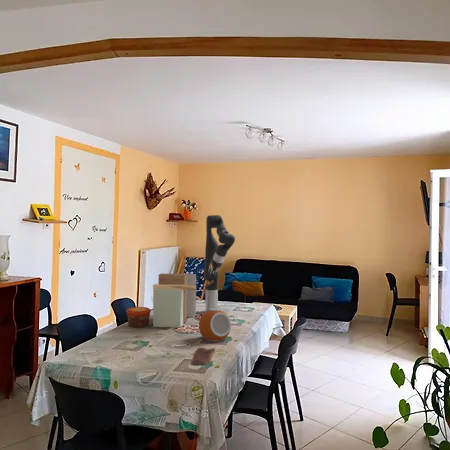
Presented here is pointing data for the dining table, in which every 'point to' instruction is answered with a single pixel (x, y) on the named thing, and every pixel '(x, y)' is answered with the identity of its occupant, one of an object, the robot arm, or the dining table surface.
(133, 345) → the dining table surface
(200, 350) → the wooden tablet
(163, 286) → the oak strip
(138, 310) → the food container
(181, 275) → the tall wooden block
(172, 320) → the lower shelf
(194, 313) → the grey tall block
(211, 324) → the alarm clock
